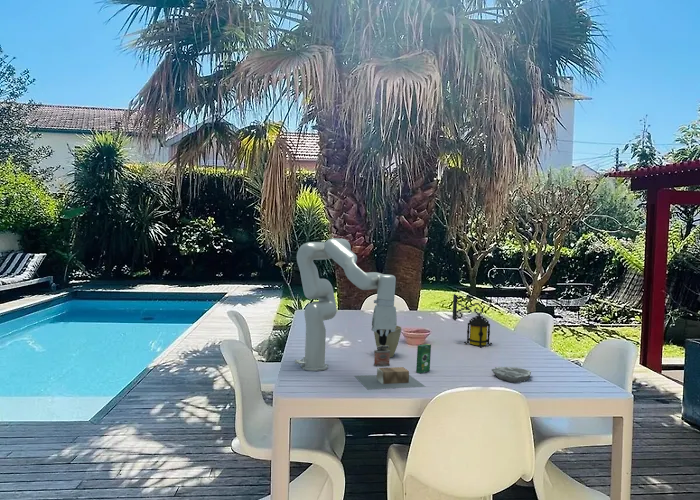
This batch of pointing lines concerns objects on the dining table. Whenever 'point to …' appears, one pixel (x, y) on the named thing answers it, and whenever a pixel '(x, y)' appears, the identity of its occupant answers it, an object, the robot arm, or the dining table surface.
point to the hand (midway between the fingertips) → (382, 344)
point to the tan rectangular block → (392, 375)
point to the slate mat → (373, 383)
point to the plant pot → (390, 340)
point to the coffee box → (423, 358)
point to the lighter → (382, 356)
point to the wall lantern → (474, 324)
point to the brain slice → (512, 374)
